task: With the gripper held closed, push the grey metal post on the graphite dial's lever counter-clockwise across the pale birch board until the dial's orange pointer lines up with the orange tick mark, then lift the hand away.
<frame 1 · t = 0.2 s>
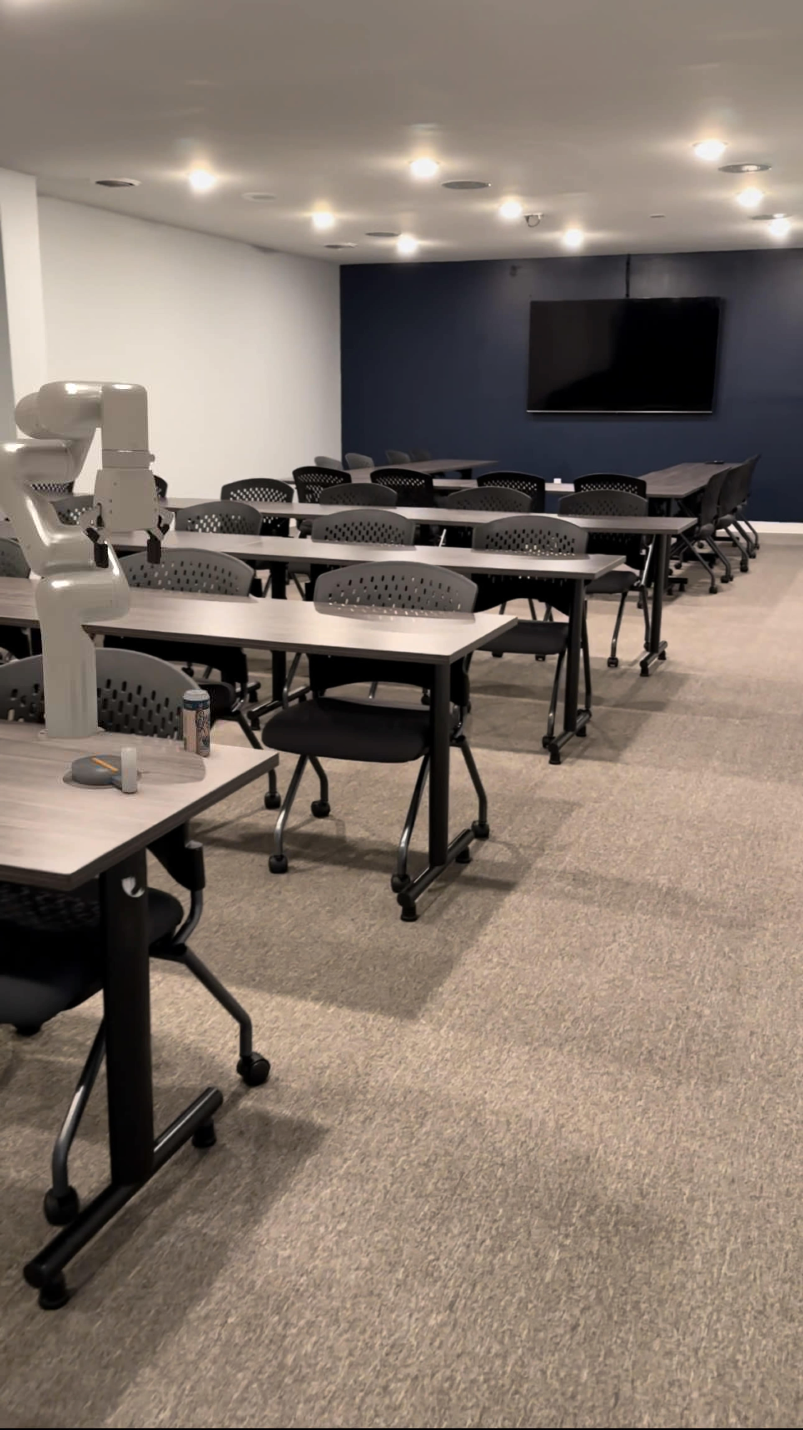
hand: (128, 565, 204), 36 cm above the table, tool pointing down, fingers open, 9 cm apart
board: (110, 783, 207), on the table
beer can: (196, 756, 224), on the table
dial: (109, 759, 202), point 5 cm above the table, hinge at 0.0°
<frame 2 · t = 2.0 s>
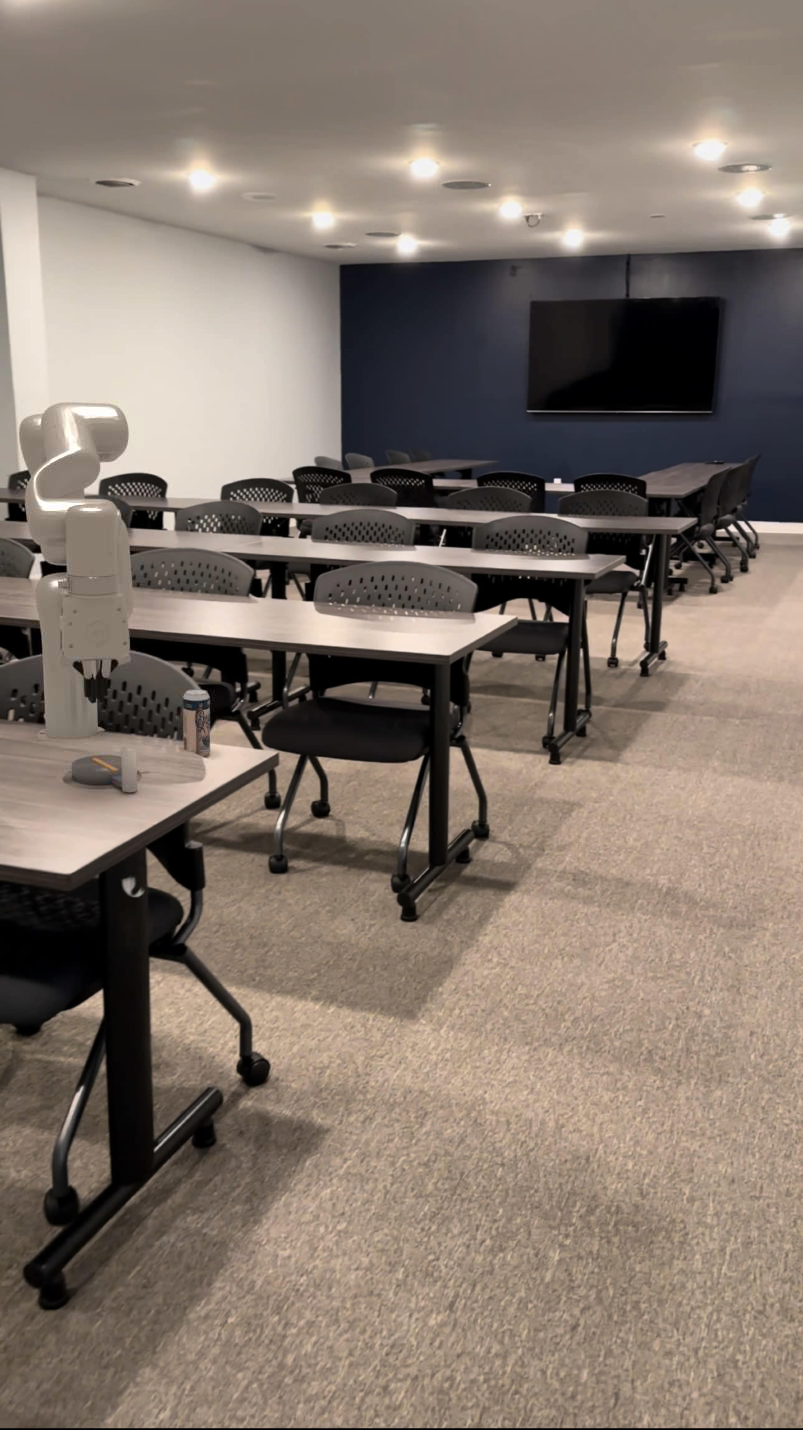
hand: (96, 700, 192), 17 cm above the table, tool pointing down, fingers closed
nothing on the table moved.
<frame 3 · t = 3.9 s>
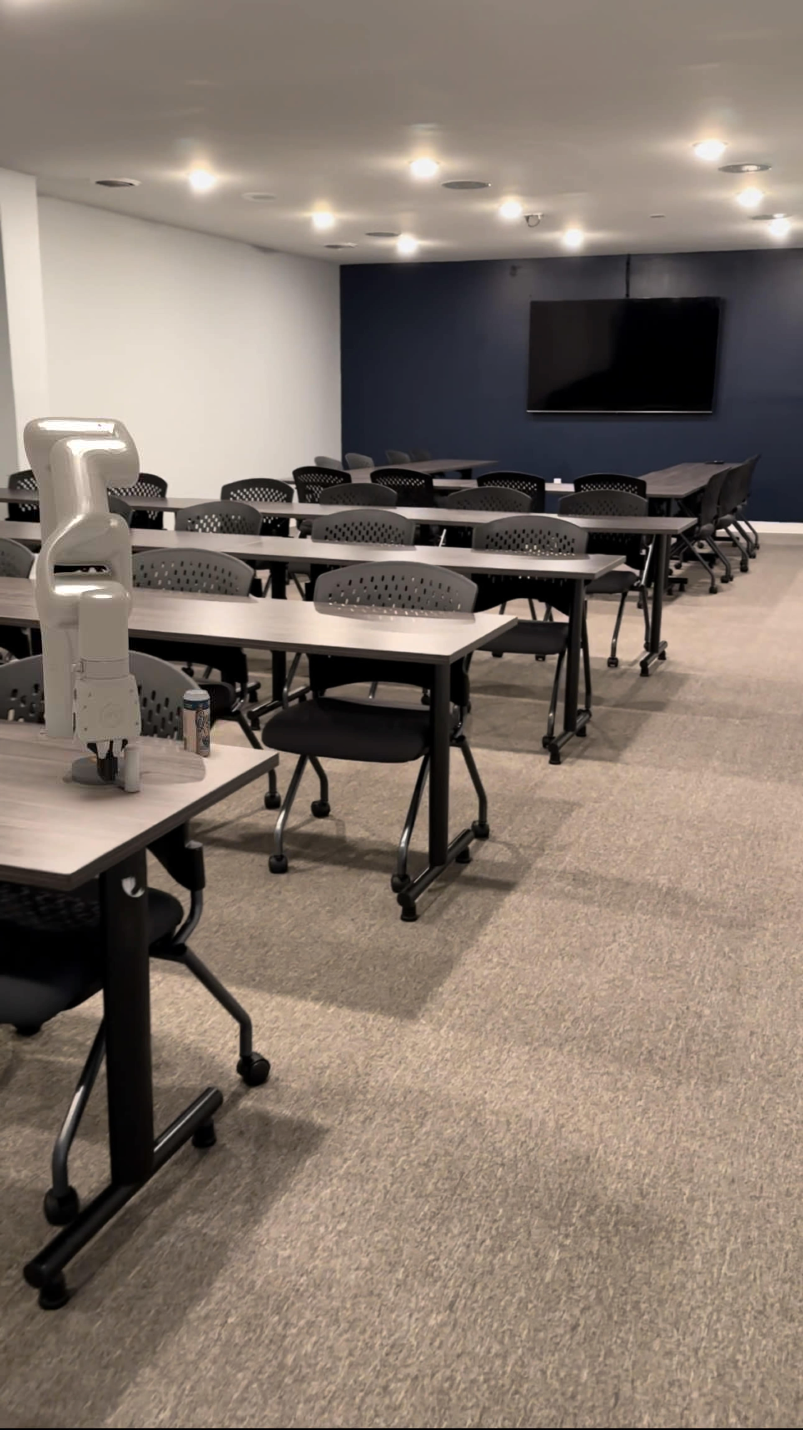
hand: (107, 779, 196), 4 cm above the table, tool pointing down, fingers closed
dial: (110, 759, 202), point 5 cm above the table, hinge at 3.0°, touching gripper
everything else where it was.
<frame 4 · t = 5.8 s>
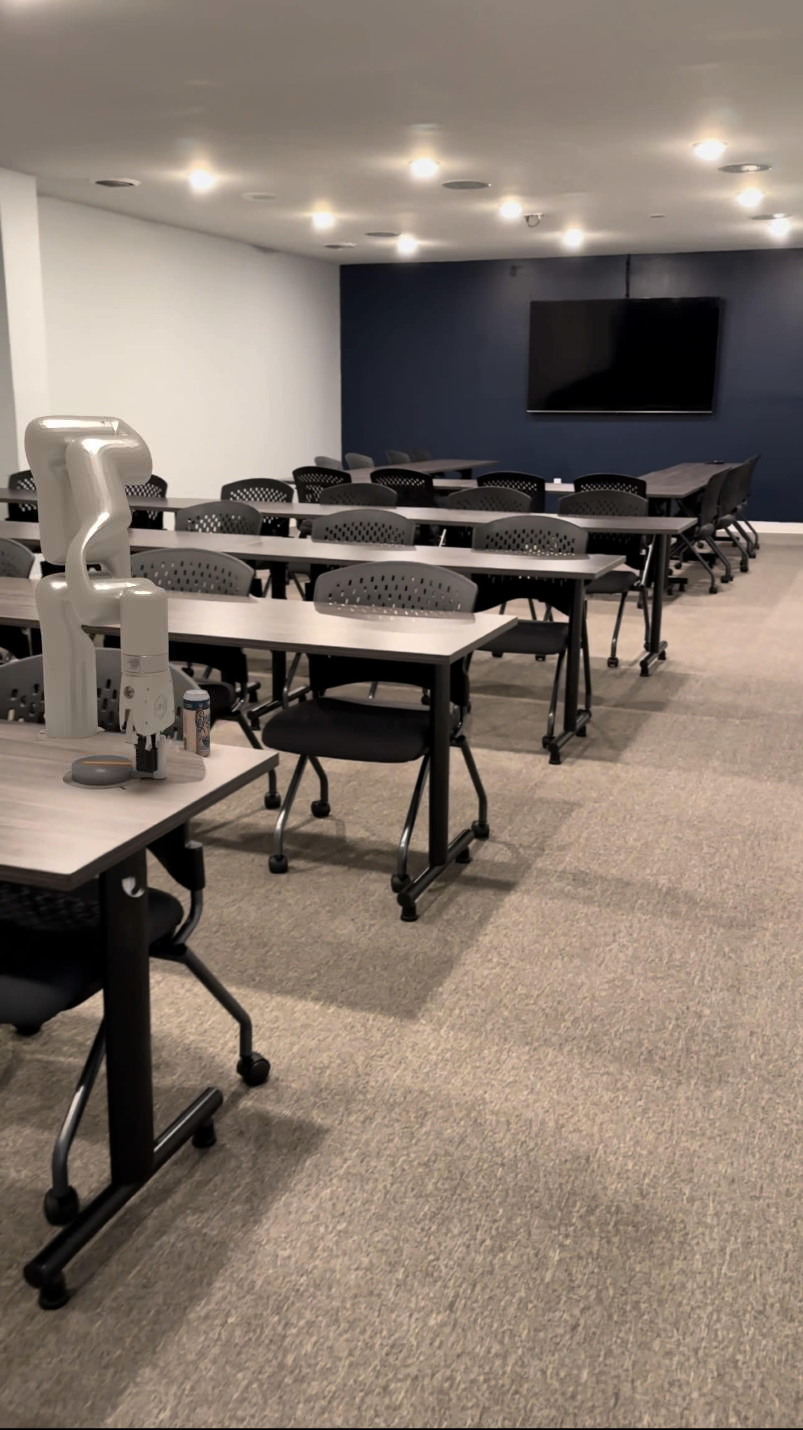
hand: (147, 770, 201), 4 cm above the table, tool pointing down, fingers closed
dial: (118, 755, 205), point 5 cm above the table, hinge at 51.4°, touching gripper
everything else where it was.
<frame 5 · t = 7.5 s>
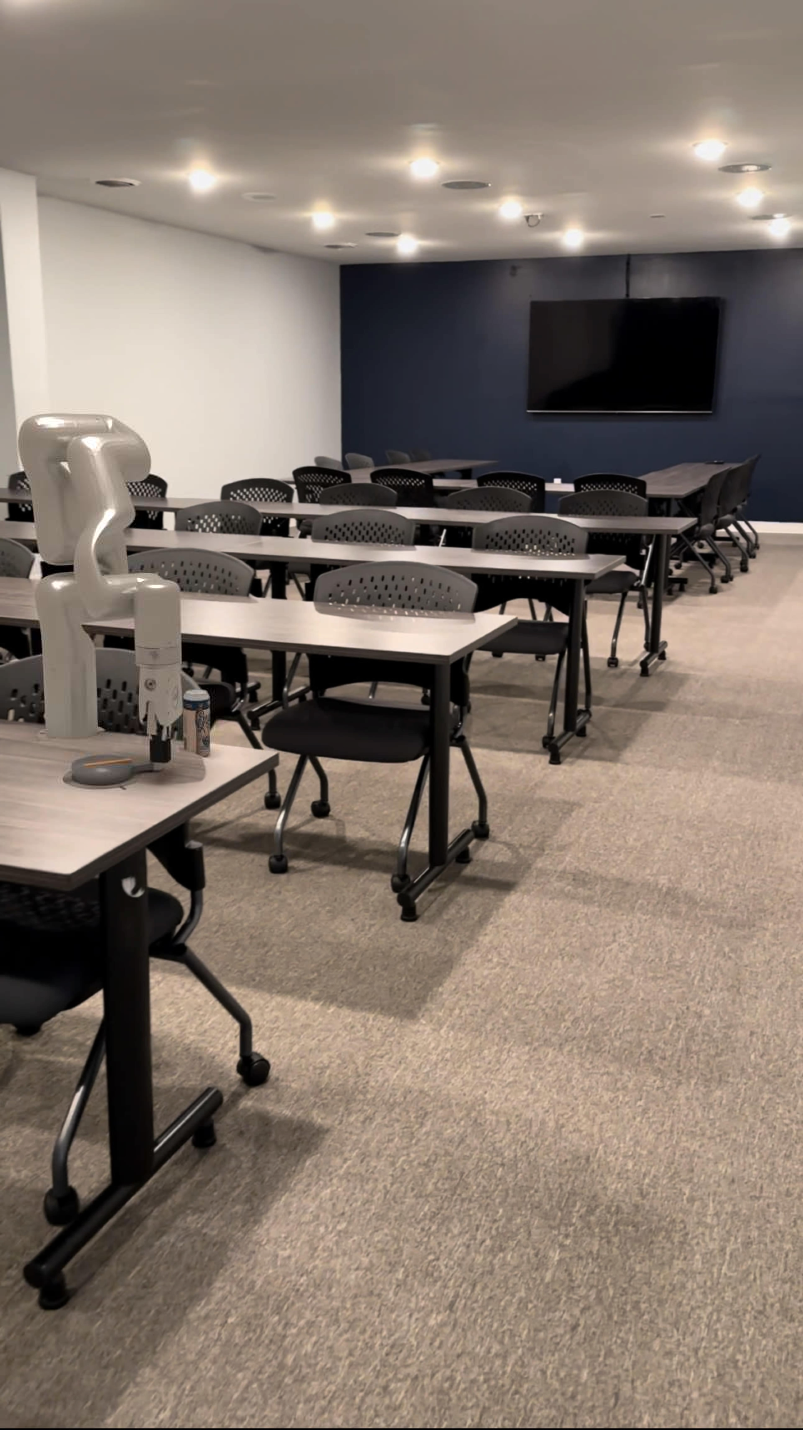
hand: (160, 761, 206), 4 cm above the table, tool pointing down, fingers closed
dial: (118, 753, 206), point 5 cm above the table, hinge at 80.3°, touching gripper
everything else where it was.
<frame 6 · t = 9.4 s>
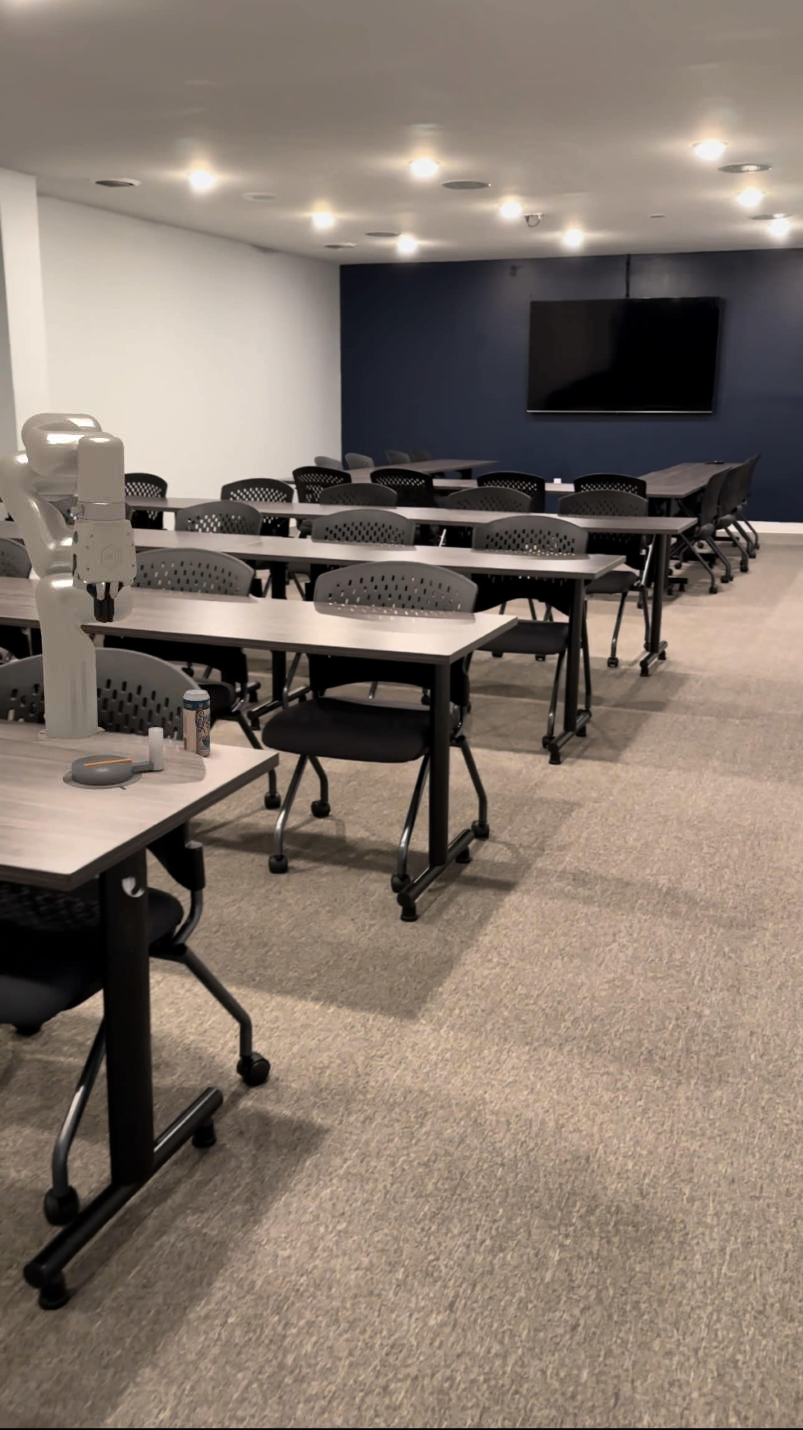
hand: (104, 621, 206), 27 cm above the table, tool pointing down, fingers closed
dial: (118, 753, 206), point 5 cm above the table, hinge at 80.3°
everything else where it was.
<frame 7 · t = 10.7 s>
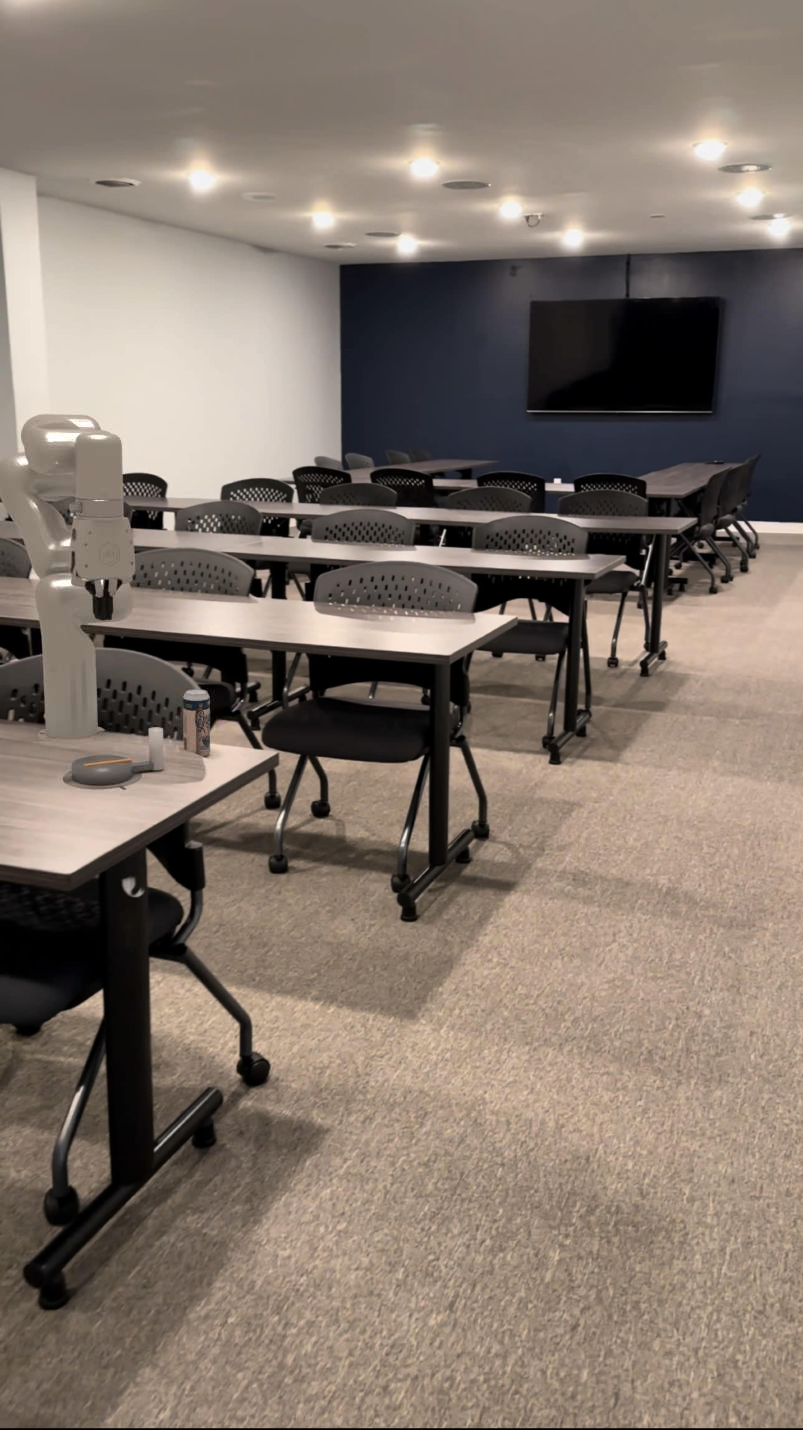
hand: (103, 618, 206), 27 cm above the table, tool pointing down, fingers closed
nothing on the table moved.
at the end: dial at +80° (first picture: +0°) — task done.
